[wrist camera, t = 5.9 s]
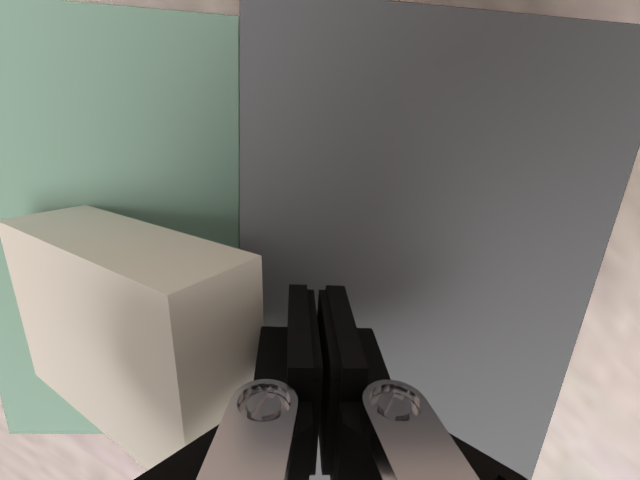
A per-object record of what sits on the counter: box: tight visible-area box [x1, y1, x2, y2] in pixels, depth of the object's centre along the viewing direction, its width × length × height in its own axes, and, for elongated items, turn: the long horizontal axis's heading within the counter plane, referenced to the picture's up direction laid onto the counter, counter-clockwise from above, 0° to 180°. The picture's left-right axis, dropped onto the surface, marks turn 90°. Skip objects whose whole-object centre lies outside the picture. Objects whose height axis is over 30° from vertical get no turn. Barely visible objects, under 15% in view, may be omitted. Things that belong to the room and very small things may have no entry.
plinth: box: [240, 0, 640, 480], centre depth 15 cm, size 18×12×4 cm, turn 176°
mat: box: [0, 0, 240, 434], centre depth 16 cm, size 18×10×1 cm, turn 176°
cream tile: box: [0, 205, 264, 471], centre depth 12 cm, size 6×9×3 cm
